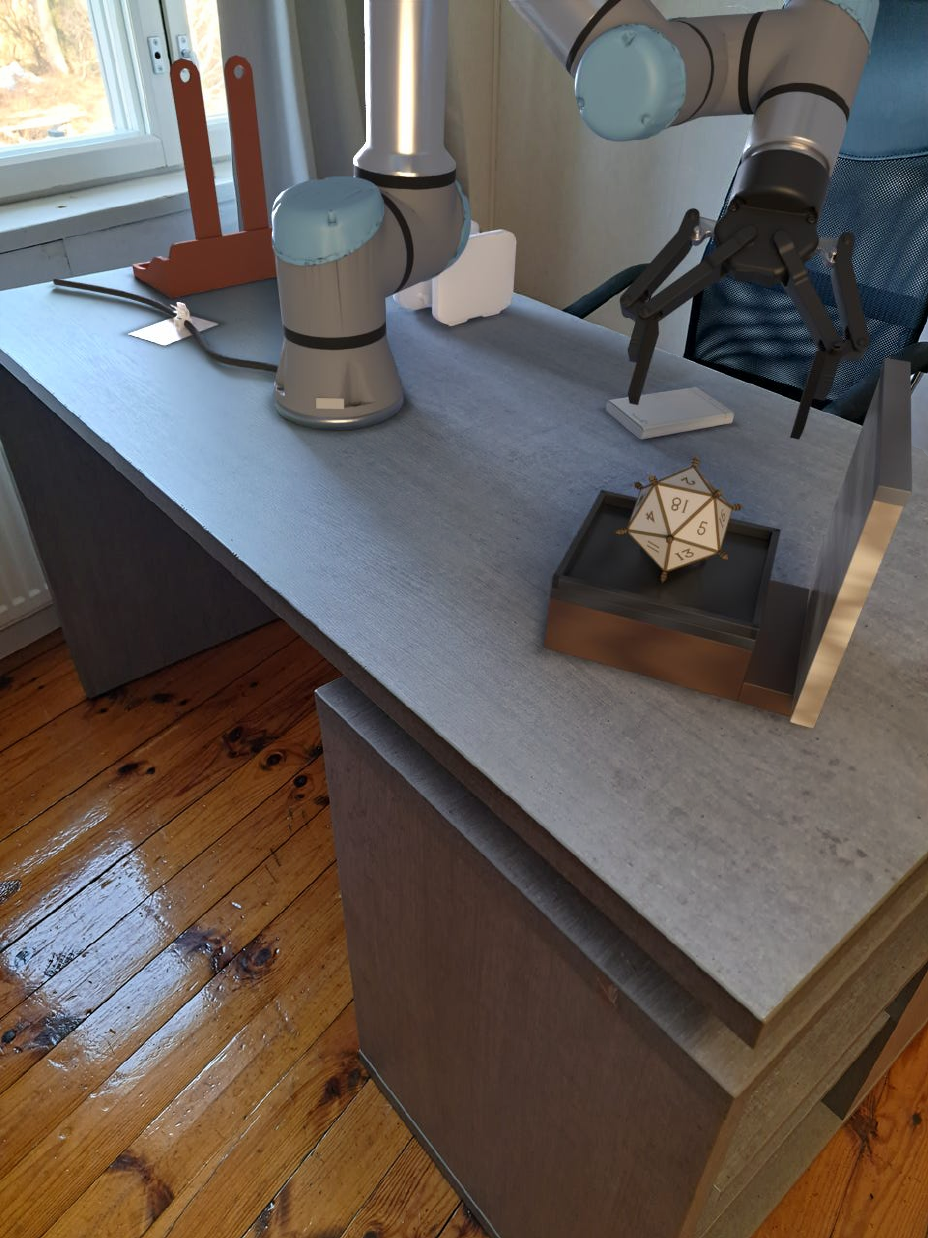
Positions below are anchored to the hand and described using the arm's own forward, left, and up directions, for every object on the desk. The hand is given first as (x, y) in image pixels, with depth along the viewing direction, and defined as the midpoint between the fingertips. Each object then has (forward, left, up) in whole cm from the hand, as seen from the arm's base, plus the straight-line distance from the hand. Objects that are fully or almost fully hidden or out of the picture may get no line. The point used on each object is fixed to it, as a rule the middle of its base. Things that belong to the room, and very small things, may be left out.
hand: (712, 416), depth 71 cm
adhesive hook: (-76, +26, -14) cm, 81 cm away
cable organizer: (-44, +50, -14) cm, 68 cm away
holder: (+3, -11, -14) cm, 18 cm away
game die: (0, -11, -8) cm, 14 cm away
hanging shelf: (-84, +50, -14) cm, 99 cm away
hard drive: (-7, +28, -14) cm, 32 cm away
